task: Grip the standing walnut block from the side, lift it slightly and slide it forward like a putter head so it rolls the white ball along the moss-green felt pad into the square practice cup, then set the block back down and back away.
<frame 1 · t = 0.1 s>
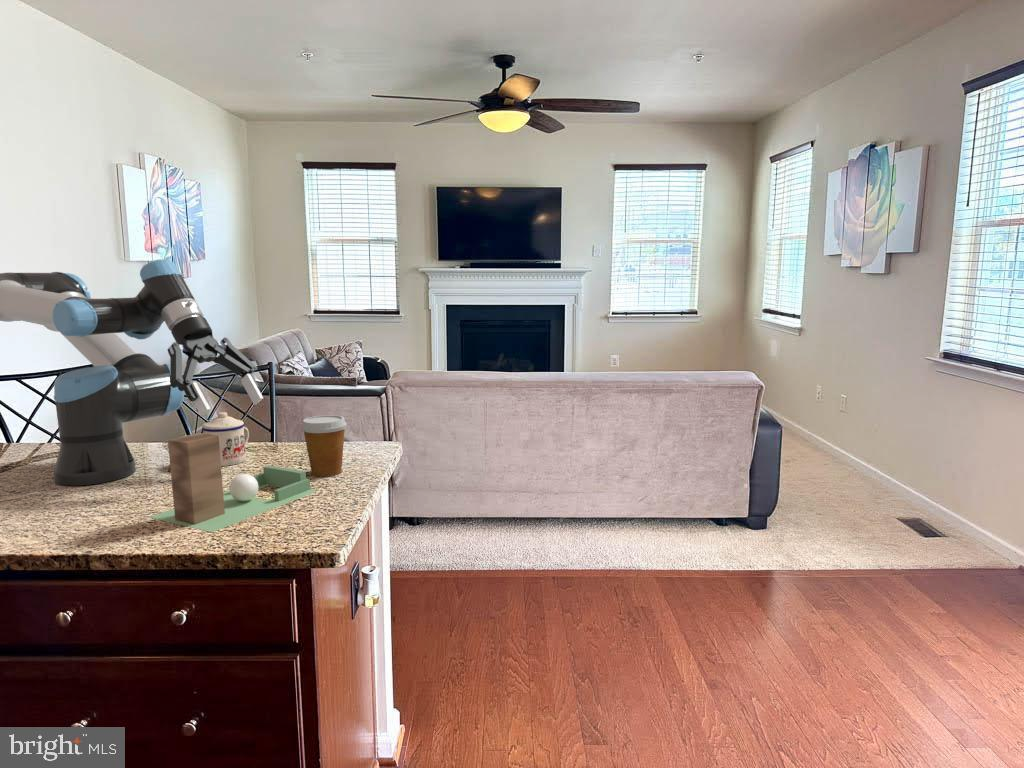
hand: (233, 407, 144), 15 cm above the countertop, tool tilted 35°, fingers open, 13 cm apart
ball: (244, 487, 125), point 4 cm above the countertop, touching pad
disposable coffee cup: (326, 473, 148), on the countertop
teacup with lid: (230, 461, 160), on the countertop
walnut block: (200, 516, 117), point 1 cm above the countertop, touching pad
pad: (238, 511, 124), on the countertop
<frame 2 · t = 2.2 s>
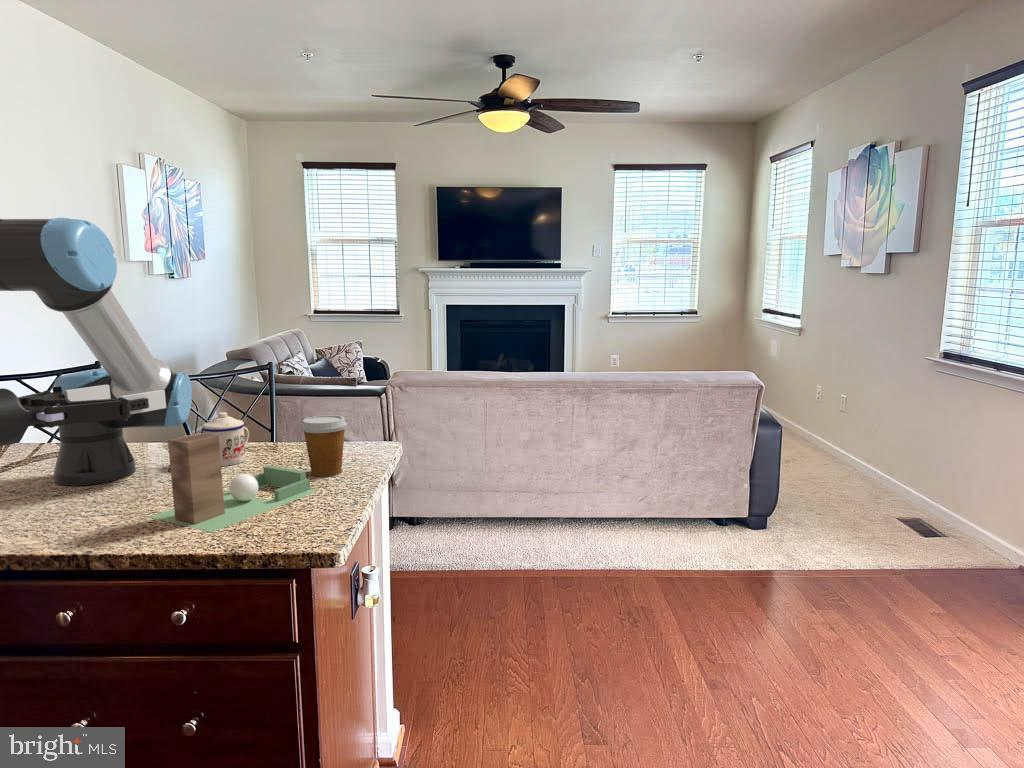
hand: (135, 395, 105), 24 cm above the countertop, tool horizontal, fingers open, 13 cm apart
nothing on the countertop moved.
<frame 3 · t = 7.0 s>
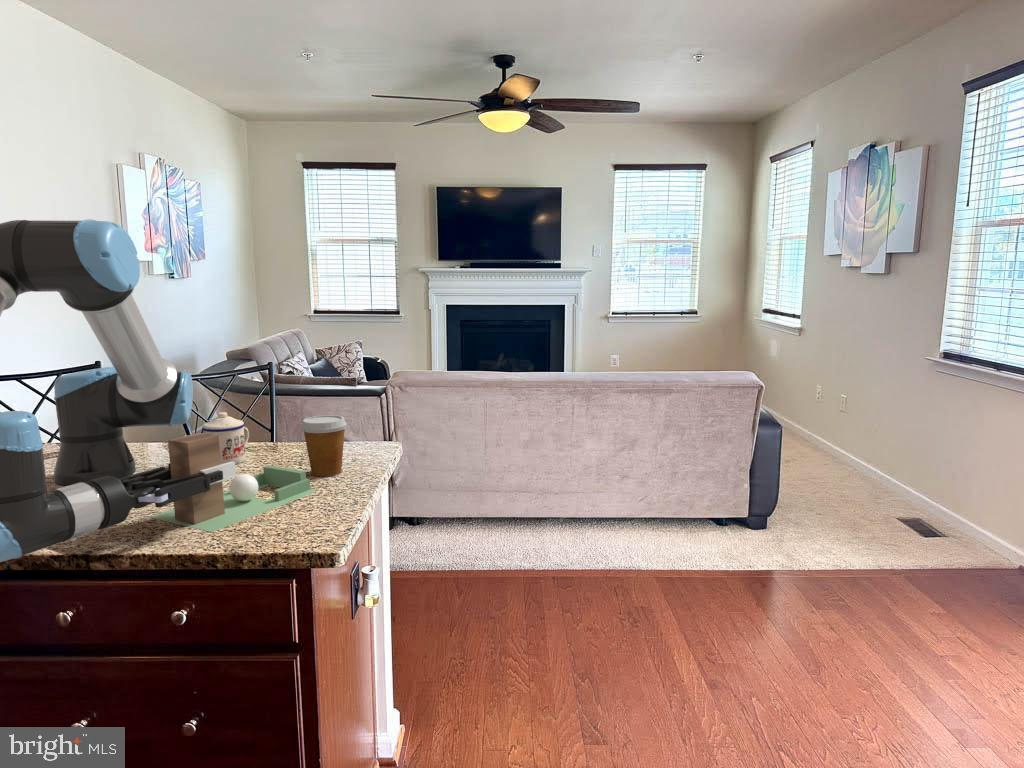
hand: (222, 467, 120), 9 cm above the countertop, tool horizontal, fingers closed on walnut block, 5 cm apart
walnut block: (200, 516, 117), point 1 cm above the countertop, touching gripper, pad
everything else where it was.
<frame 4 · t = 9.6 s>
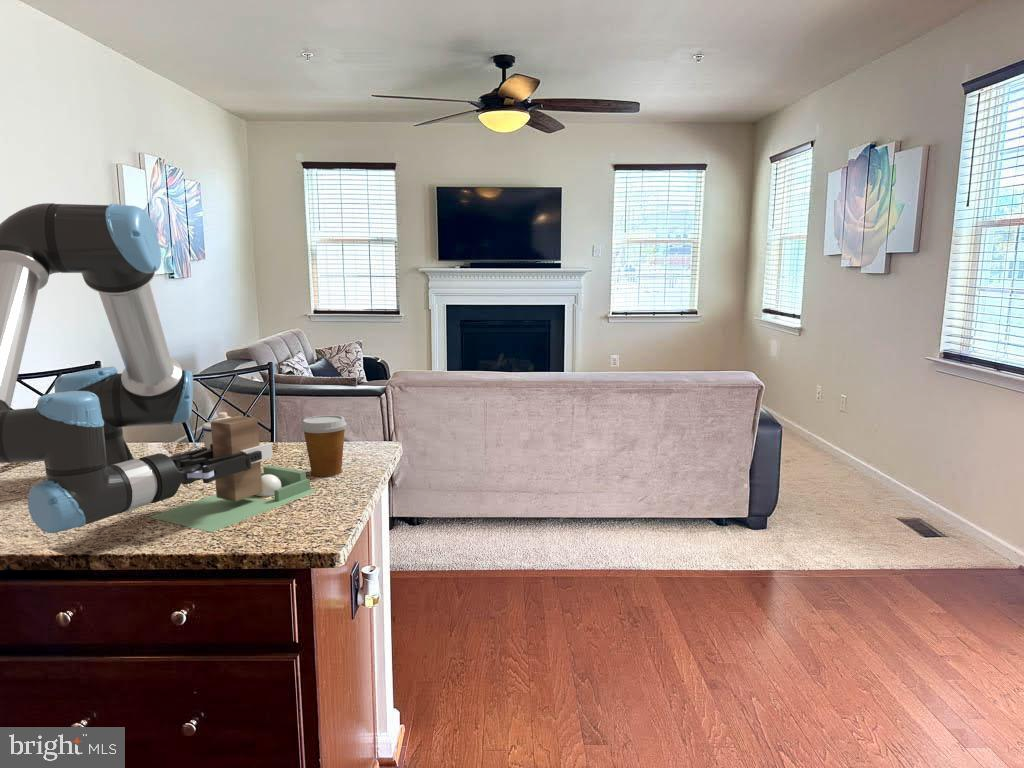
hand: (259, 448, 128), 10 cm above the countertop, tool horizontal, fingers closed on walnut block, 5 cm apart
ball: (268, 487, 130), point 2 cm above the countertop, tilted 140°
walnut block: (239, 494, 124), point 3 cm above the countertop, touching gripper
everything else where it was.
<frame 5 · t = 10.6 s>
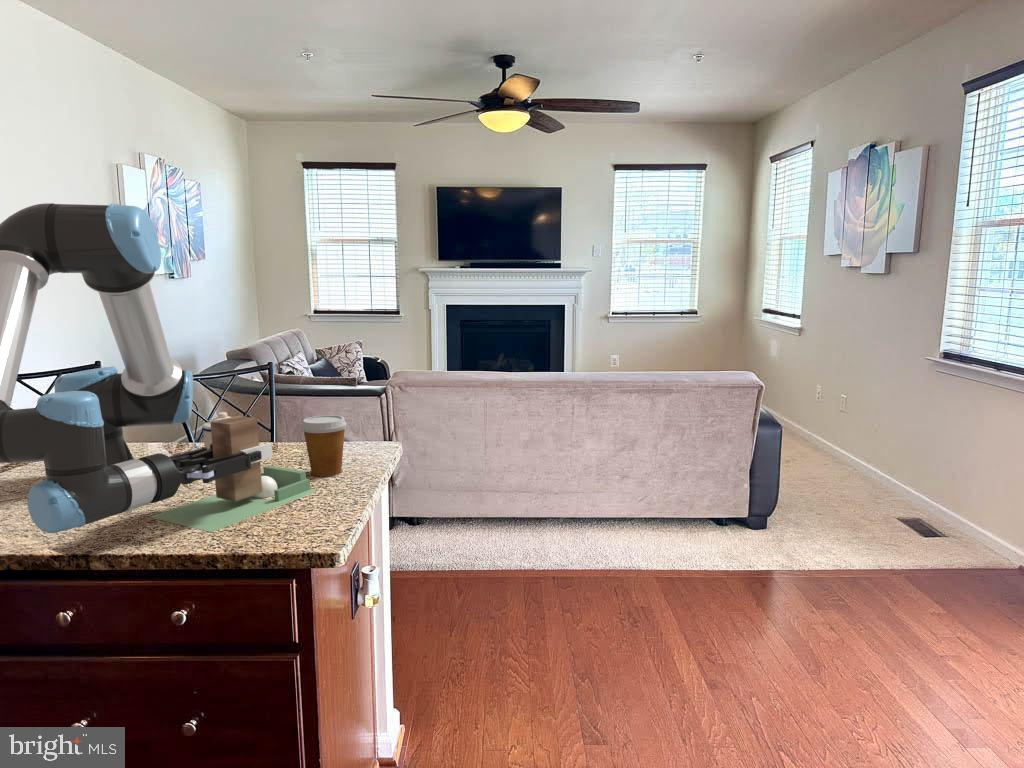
hand: (259, 448, 128), 10 cm above the countertop, tool horizontal, fingers closed on walnut block, 5 cm apart
ball: (263, 489, 129), point 2 cm above the countertop, tilted 116°
walnut block: (239, 494, 124), point 3 cm above the countertop, touching gripper
everything else where it was.
when the fingers open (9 cm above the countertop, at t = 12.3 s): walnut block stays where it is, resting on pad.
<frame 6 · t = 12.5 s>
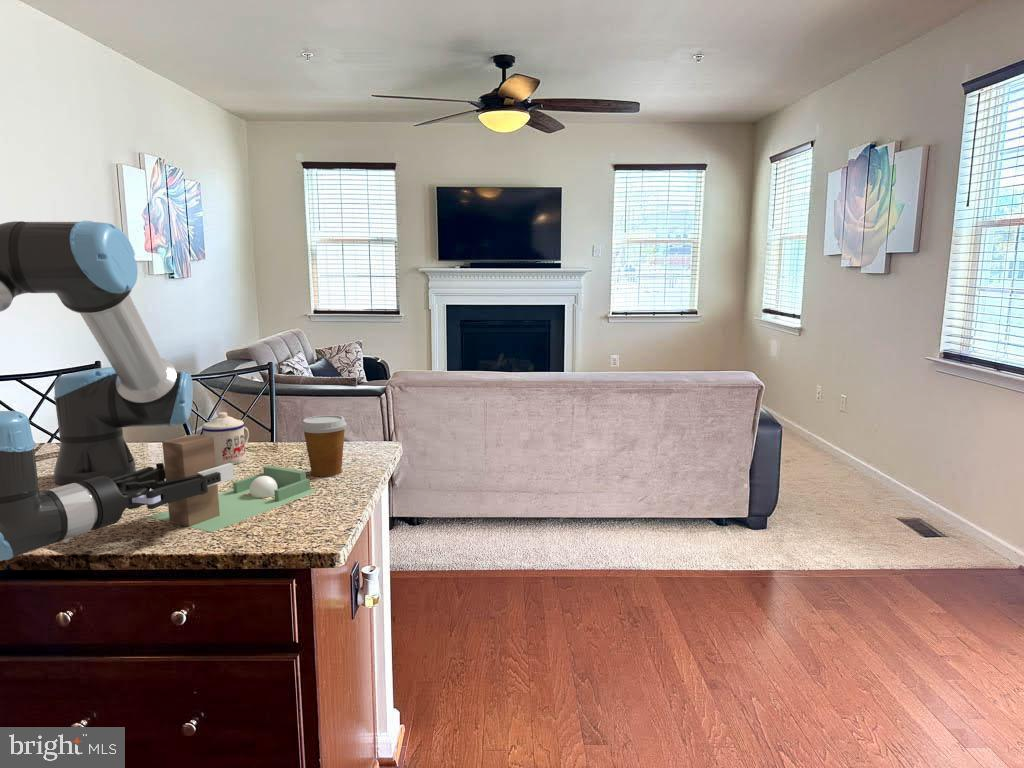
hand: (215, 468, 119), 9 cm above the countertop, tool horizontal, fingers open, 7 cm apart
walnut block: (195, 518, 116), point 1 cm above the countertop, touching pad
everything else where it was.
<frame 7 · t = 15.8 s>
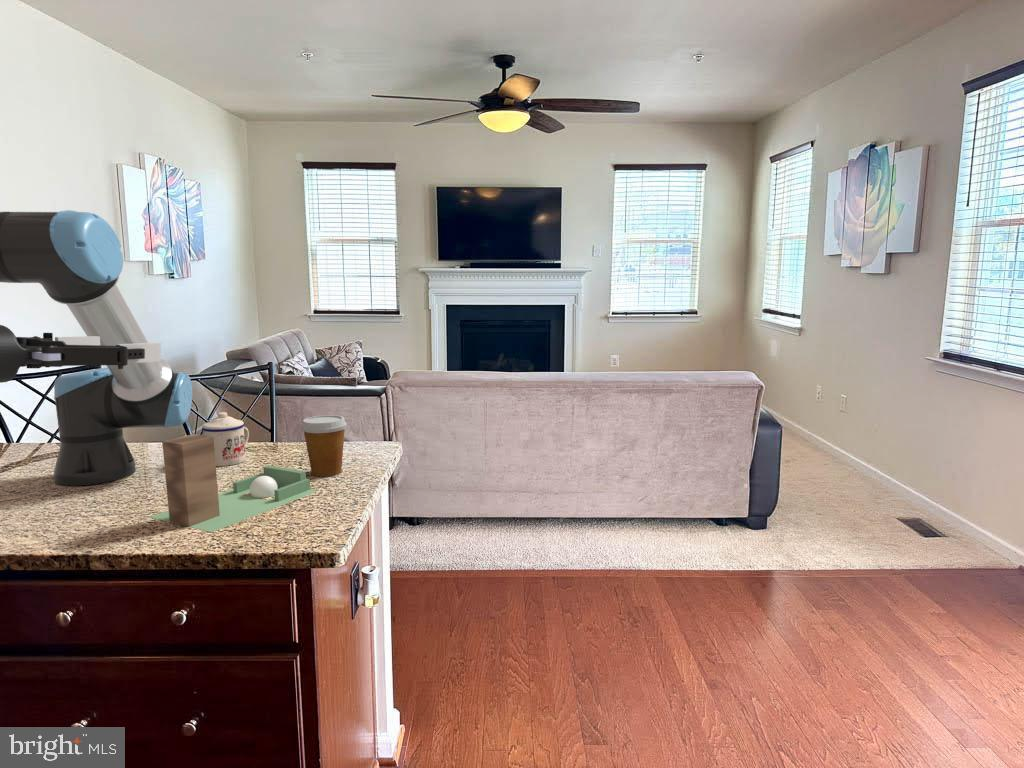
hand: (128, 348, 104), 32 cm above the countertop, tool horizontal, fingers open, 13 cm apart
nothing on the countertop moved.
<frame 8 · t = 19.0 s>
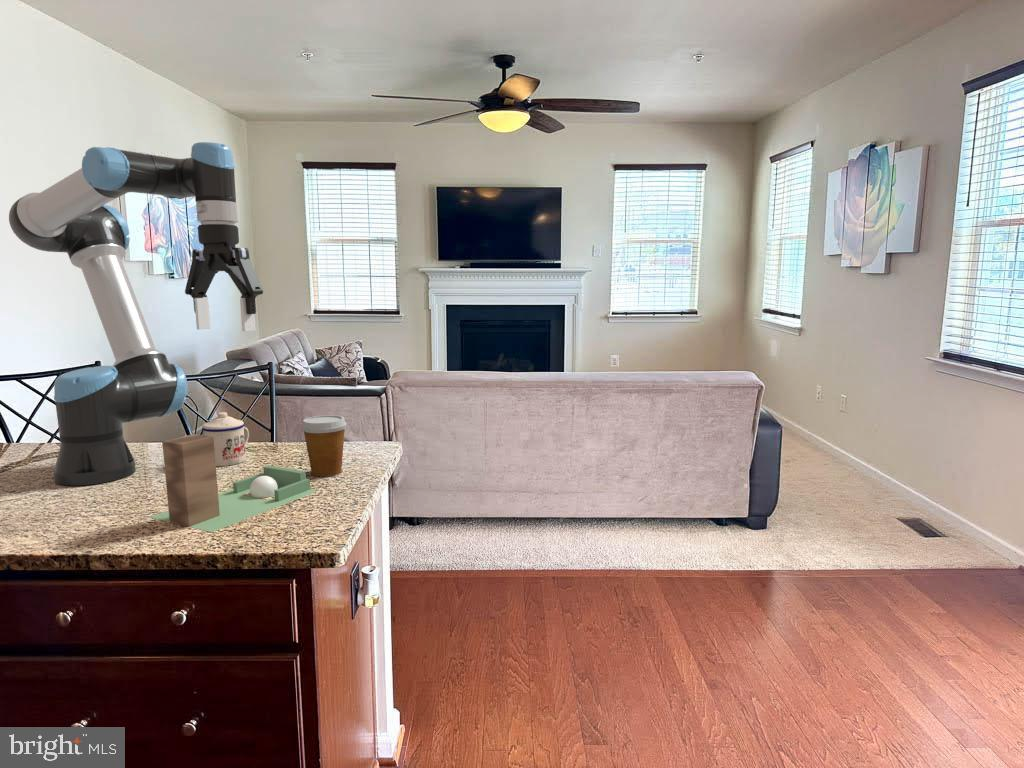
hand: (225, 330, 139), 32 cm above the countertop, tool pointing down, fingers open, 13 cm apart
nothing on the countertop moved.
at the end: ball inside the target area in the pad (1.0 cm from its centre), point 2.5 cm above the pad's base; ball moved 4.7 cm from its start; the gripper is holding nothing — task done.
